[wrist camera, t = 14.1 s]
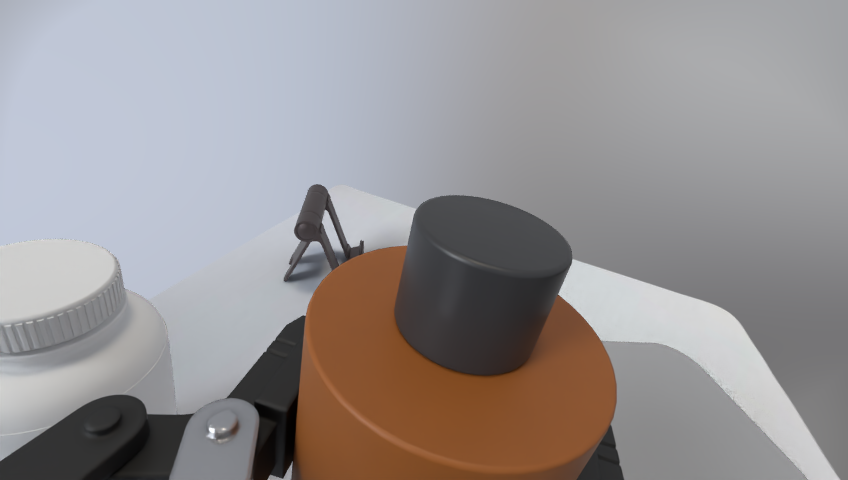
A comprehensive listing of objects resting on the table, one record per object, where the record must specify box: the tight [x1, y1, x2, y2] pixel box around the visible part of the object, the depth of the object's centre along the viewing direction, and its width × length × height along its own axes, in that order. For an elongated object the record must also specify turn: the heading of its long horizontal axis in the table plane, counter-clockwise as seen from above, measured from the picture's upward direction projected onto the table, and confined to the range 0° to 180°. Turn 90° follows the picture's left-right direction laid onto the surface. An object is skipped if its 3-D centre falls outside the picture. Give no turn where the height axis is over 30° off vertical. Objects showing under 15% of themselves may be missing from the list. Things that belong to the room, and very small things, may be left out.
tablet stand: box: [284, 184, 364, 281], centre depth 42 cm, size 9×8×8 cm
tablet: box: [601, 341, 808, 480], centre depth 32 cm, size 16×26×2 cm, turn 99°
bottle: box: [291, 195, 617, 480], centre depth 9 cm, size 6×6×12 cm
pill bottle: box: [0, 239, 177, 461], centre depth 19 cm, size 8×8×15 cm
